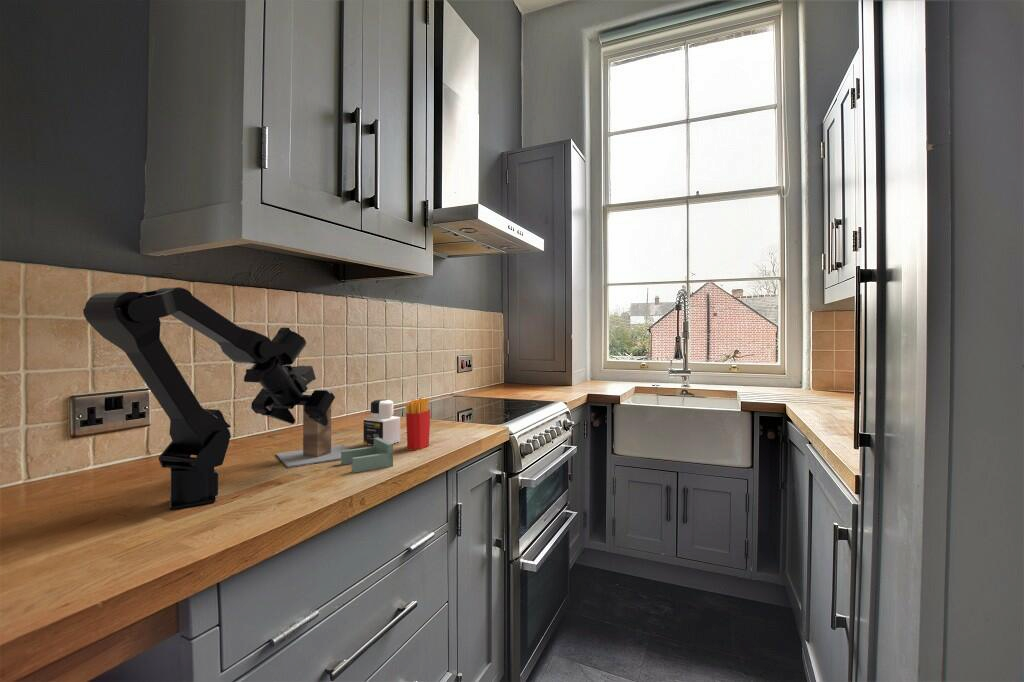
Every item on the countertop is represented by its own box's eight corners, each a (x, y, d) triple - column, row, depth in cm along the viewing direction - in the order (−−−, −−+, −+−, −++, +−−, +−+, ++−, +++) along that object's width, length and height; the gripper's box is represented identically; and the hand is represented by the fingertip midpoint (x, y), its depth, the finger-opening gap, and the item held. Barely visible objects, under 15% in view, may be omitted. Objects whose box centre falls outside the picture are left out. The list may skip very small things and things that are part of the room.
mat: (287, 467, 102) (287, 466, 102) (275, 455, 114) (275, 453, 114) (359, 457, 112) (359, 455, 112) (341, 446, 123) (341, 444, 123)
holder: (353, 472, 99) (353, 449, 99) (341, 463, 106) (341, 442, 106) (392, 466, 104) (393, 444, 104) (378, 457, 111) (378, 437, 111)
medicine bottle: (362, 444, 125) (363, 400, 125) (381, 439, 132) (381, 397, 132) (382, 447, 122) (382, 402, 122) (400, 442, 128) (400, 399, 128)
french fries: (420, 442, 128) (420, 396, 128) (433, 444, 126) (433, 397, 126) (401, 450, 119) (401, 400, 119) (415, 451, 117) (415, 401, 117)
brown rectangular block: (317, 457, 110) (317, 403, 110) (303, 455, 112) (303, 402, 112) (331, 453, 114) (331, 400, 114) (317, 451, 116) (317, 400, 116)
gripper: (330, 354, 103) (358, 398, 113) (261, 353, 108) (294, 396, 118) (305, 393, 95) (337, 436, 106) (232, 390, 100) (270, 432, 111)
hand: (310, 423), depth 110 cm, fingers open, 9 cm apart
